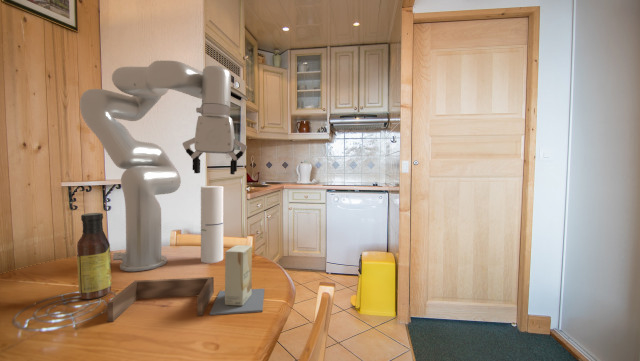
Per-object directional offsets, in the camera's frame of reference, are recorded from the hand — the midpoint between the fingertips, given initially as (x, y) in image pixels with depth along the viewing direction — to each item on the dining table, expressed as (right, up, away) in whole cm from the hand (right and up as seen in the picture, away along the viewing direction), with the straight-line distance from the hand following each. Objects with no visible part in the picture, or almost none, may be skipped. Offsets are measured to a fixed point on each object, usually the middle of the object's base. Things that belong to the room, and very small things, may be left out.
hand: (215, 173), depth 79 cm
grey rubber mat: (+11, -30, -14) cm, 35 cm away
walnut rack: (-5, -30, -16) cm, 35 cm away
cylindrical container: (-7, -29, +16) cm, 34 cm away
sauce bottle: (-25, -30, -11) cm, 41 cm away
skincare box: (+11, -30, -14) cm, 35 cm away
